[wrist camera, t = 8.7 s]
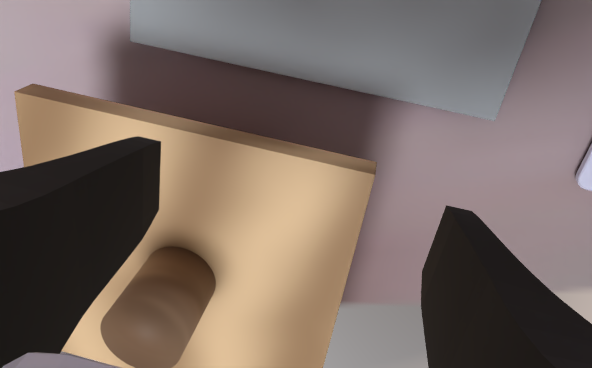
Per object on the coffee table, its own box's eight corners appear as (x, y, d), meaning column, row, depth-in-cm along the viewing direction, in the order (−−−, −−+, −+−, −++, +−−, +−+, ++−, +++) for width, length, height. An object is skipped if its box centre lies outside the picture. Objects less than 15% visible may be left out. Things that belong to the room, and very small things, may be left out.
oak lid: (376, 162, 17) (368, 232, 13) (312, 401, 24) (293, 496, 20) (32, 83, 18) (-68, 127, 14) (59, 331, 25) (-5, 408, 21)
